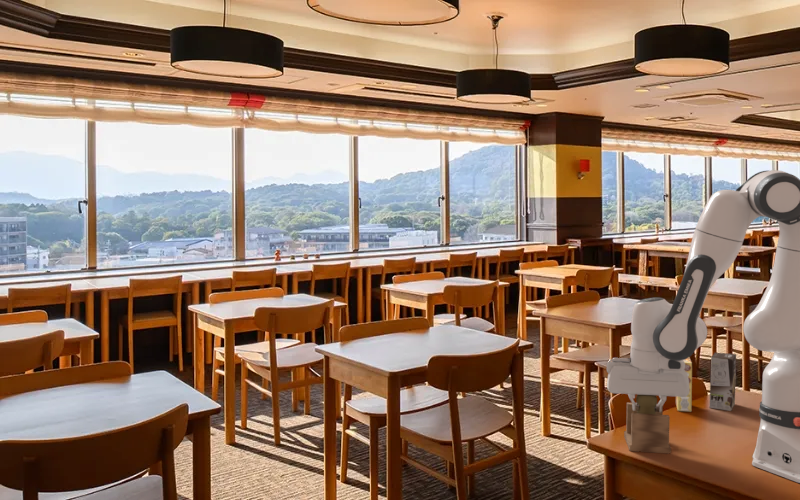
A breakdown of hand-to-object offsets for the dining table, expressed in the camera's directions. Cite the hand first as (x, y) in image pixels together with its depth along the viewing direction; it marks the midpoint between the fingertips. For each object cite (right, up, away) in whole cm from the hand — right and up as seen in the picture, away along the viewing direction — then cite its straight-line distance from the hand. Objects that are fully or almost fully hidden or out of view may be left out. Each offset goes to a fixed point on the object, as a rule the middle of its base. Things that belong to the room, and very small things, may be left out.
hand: (646, 410), depth 176 cm
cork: (0, -7, +1) cm, 7 cm away
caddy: (0, -9, +1) cm, 9 cm away
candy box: (+23, -7, +33) cm, 41 cm away
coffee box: (+36, -7, +34) cm, 51 cm away
